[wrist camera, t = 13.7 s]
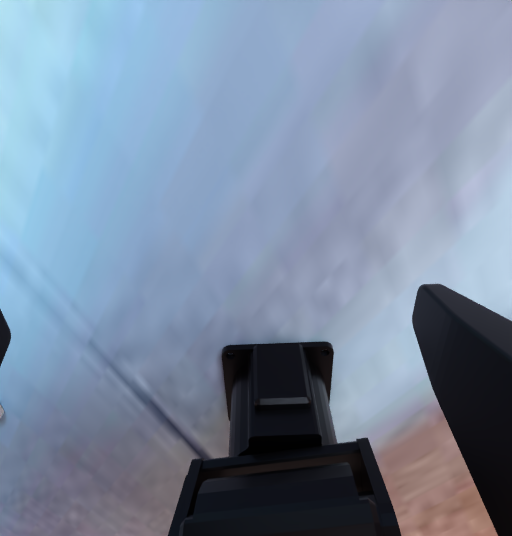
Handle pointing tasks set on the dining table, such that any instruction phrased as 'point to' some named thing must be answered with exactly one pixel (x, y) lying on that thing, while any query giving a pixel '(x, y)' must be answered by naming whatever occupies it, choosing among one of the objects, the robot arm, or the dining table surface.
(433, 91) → the dining table surface
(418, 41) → the dining table surface
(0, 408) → the white peg board
